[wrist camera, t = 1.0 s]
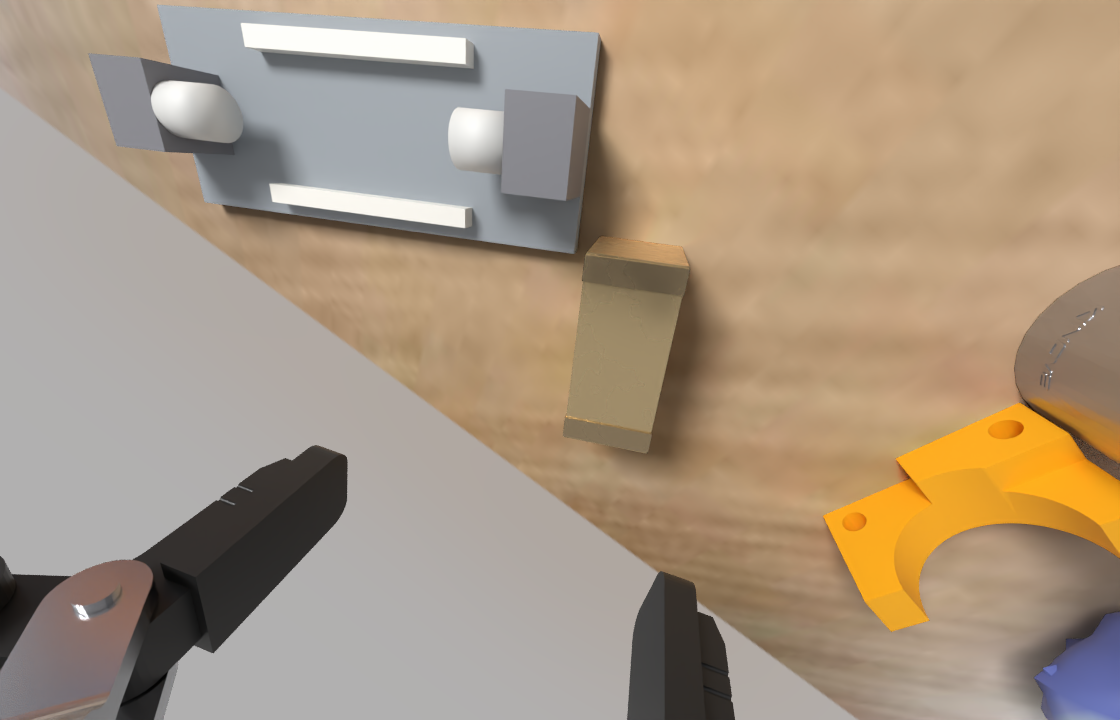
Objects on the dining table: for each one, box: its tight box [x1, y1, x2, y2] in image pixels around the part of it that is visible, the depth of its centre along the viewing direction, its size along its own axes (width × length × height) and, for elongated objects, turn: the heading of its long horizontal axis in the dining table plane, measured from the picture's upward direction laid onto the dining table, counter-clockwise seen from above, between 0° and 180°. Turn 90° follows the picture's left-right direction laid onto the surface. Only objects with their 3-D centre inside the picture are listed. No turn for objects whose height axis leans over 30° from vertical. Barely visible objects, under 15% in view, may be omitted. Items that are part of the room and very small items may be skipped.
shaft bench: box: [88, 5, 601, 254], centre depth 22 cm, size 24×10×5 cm, turn 84°
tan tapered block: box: [563, 236, 690, 453], centre depth 23 cm, size 10×5×6 cm, turn 174°
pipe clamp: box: [823, 403, 1120, 632], centre depth 23 cm, size 12×4×6 cm, turn 133°
